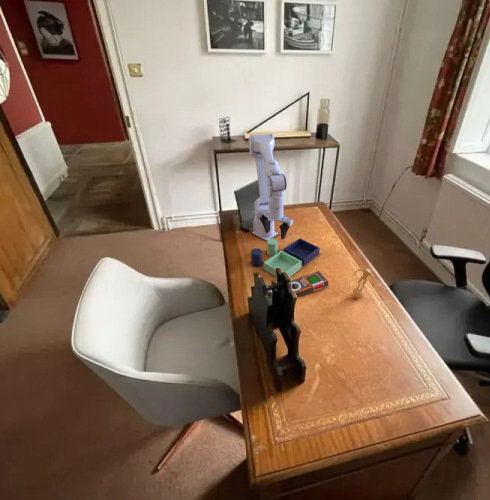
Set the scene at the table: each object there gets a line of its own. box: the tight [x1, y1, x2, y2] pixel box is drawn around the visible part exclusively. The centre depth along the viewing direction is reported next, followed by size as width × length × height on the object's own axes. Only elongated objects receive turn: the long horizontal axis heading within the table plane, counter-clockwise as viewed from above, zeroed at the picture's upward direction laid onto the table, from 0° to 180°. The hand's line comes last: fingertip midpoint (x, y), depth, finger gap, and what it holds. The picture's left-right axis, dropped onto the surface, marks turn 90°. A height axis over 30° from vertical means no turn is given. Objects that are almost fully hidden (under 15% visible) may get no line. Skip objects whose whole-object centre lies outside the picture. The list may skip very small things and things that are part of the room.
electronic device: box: [290, 270, 329, 297], centre depth 118 cm, size 7×3×15 cm
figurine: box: [352, 268, 375, 300], centre depth 112 cm, size 8×6×12 cm
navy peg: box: [250, 247, 263, 268], centre depth 127 cm, size 4×4×6 cm
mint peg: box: [266, 238, 279, 257], centre depth 133 cm, size 4×4×6 cm
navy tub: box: [283, 237, 321, 267], centre depth 133 cm, size 11×11×4 cm
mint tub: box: [263, 250, 303, 278], centre depth 126 cm, size 11×11×4 cm
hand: (275, 235), depth 129 cm, fingers open, 7 cm apart
